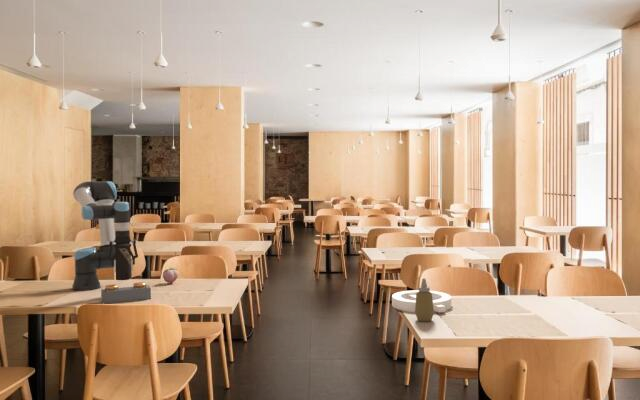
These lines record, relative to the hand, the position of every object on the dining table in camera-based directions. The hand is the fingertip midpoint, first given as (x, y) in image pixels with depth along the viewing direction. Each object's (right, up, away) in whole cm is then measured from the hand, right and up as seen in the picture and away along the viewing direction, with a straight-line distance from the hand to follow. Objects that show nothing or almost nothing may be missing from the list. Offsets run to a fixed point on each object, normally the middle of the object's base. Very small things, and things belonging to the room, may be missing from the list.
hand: (123, 271), depth 297 cm
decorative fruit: (+17, -12, +31) cm, 37 cm away
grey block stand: (+6, -13, -13) cm, 20 cm away
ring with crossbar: (+157, -12, -37) cm, 162 cm away
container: (0, -4, 0) cm, 5 cm away
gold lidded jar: (+12, -12, -10) cm, 20 cm away
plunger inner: (0, -13, -16) cm, 20 cm away
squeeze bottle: (+153, -13, -65) cm, 166 cm away
